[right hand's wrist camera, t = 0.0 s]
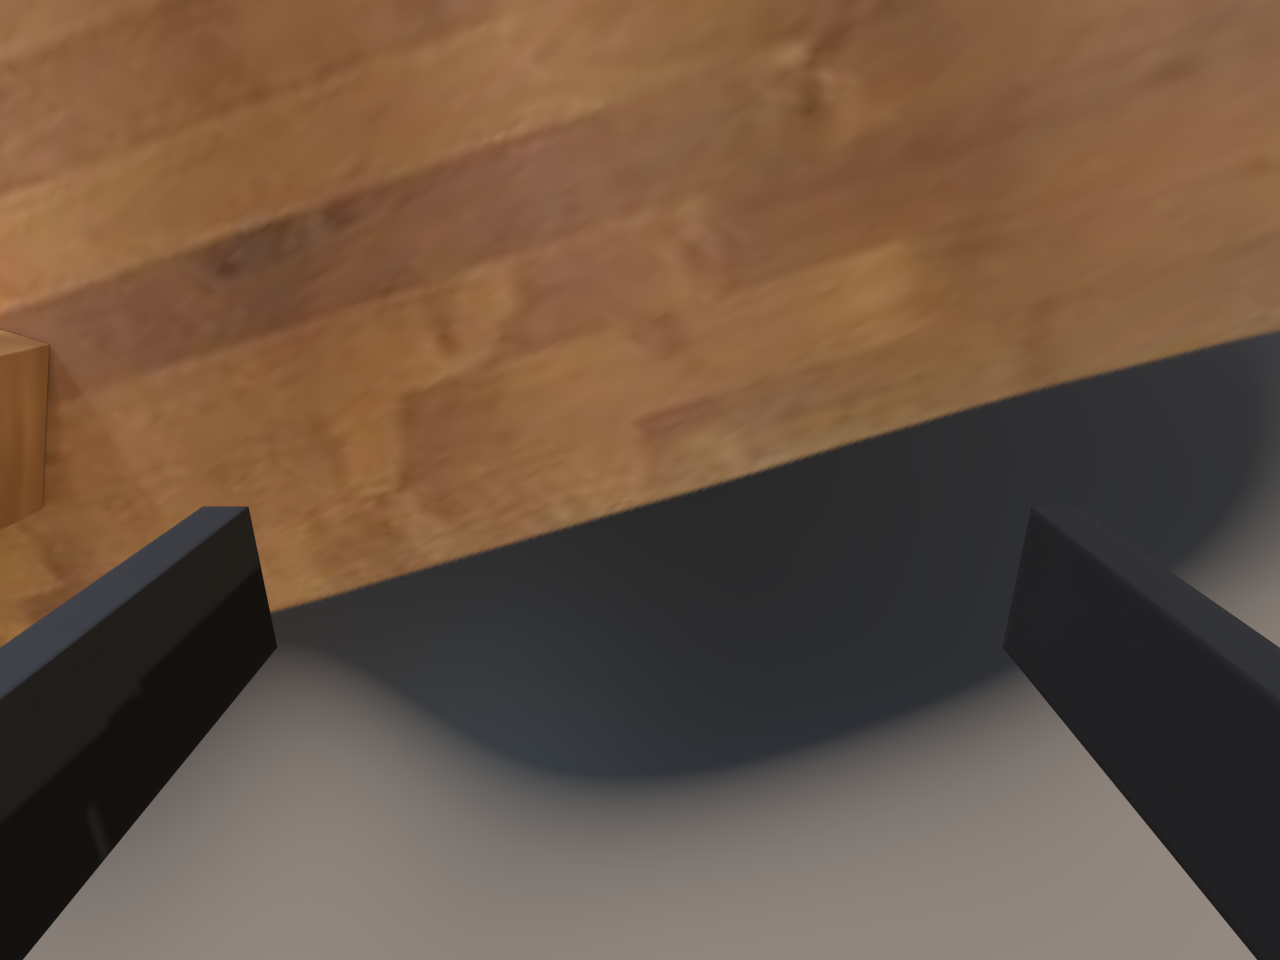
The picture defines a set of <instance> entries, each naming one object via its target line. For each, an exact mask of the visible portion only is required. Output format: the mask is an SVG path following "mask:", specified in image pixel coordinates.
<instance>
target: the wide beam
mask: <svg viewBox="0 0 1280 960" xmlns="http://www.w3.org/2000/svg"><path fill="white" fill-rule="evenodd" d="M48 363H49V344H47V343H44V342H40V341H37V340H34V339H30V338H27V337H23V336H20V335H17V334H13V333H10V332H7V331H3V330H0V530H1V529H3V528H5V527H7V526H9V525H11V524H13V523H15V522H17V521H18V520H20V519H22V518H24V517H26V516H28V515H30V514H32V513H34V512H36V511H38V510H40V509H42V508H43V489H44V464H45V439H46V413H47V388H48Z"/></svg>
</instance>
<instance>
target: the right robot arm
mask: <svg viewBox="0 0 1280 960" xmlns="http://www.w3.org/2000/svg"><path fill="white" fill-rule="evenodd" d="M276 648H277V644H276V639H275V634H274V629H273V624H272V619H271V614H270V610H269V605H268V600H267V595H266V590H265V585H264V580H263V575H262V571H261V566H260V561H259V556H258V551H257V546H256V541H255V536H254V532H253V527H252V522H251V517H250V512H249V507H201V508H200V509H199V510H197V511H196V512H194V513H193V514H191V515H190V516H189V517H187V518H186V519H184V520H183V521H181V522H180V523H179V524H177V525H176V526H174V527H173V528H171V529H170V530H169V531H167V532H166V533H164V534H163V535H161V536H160V537H158V538H157V539H156V540H154V541H153V542H151V543H150V544H148V545H147V546H146V547H144V548H143V549H141V550H140V551H138V552H137V553H136V554H134V555H133V556H131V557H130V558H128V559H127V560H125V561H124V562H123V563H121V564H120V565H118V566H117V567H115V568H114V569H113V570H111V571H110V572H108V573H107V574H105V575H104V576H103V577H101V578H100V579H98V580H97V581H95V582H94V583H93V584H91V585H90V586H88V587H87V588H85V589H84V590H82V591H81V592H80V593H78V594H77V595H75V596H74V597H72V598H71V599H70V600H68V601H67V602H65V603H64V604H62V605H61V606H60V607H58V608H57V609H55V610H54V611H52V612H51V613H50V614H48V615H47V616H45V617H44V618H42V619H41V620H39V621H38V622H37V623H35V624H34V625H32V626H31V627H29V628H28V629H27V630H25V631H24V632H22V633H21V634H19V635H18V636H17V637H15V638H14V639H12V640H11V641H9V642H8V643H6V644H5V645H4V646H2V647H1V648H0V960H23V959H24V958H25V956H26V955H27V954H28V953H29V951H30V950H31V949H32V948H33V947H34V945H35V944H36V943H37V942H38V940H39V939H40V938H41V937H42V935H43V934H44V933H45V932H46V931H47V929H48V928H49V927H50V926H51V924H52V923H53V922H54V921H55V920H56V918H57V917H58V916H59V915H60V913H61V912H62V911H63V910H64V908H65V907H66V906H67V905H68V904H69V902H70V901H71V900H72V899H73V897H74V896H75V895H76V894H77V892H78V891H79V890H80V889H81V888H82V886H83V885H84V884H85V883H86V881H87V880H88V879H89V878H90V876H91V875H92V874H93V873H94V872H95V870H96V869H97V868H98V867H99V865H100V864H101V863H102V862H103V861H104V859H105V858H106V857H107V856H108V854H109V853H110V852H111V851H112V849H113V848H114V847H115V846H116V845H117V843H118V842H119V841H120V840H121V838H122V837H123V836H124V835H125V834H126V832H127V831H128V830H129V829H130V827H131V826H132V825H133V824H134V822H135V821H136V820H137V819H138V818H139V816H140V815H141V814H142V813H143V811H144V810H145V809H146V808H147V807H148V805H149V804H150V803H151V802H152V800H153V799H154V798H155V797H156V795H157V794H158V793H159V792H160V790H161V789H162V788H163V787H164V786H165V784H166V783H167V782H168V781H169V779H170V778H171V777H172V776H173V774H174V773H175V772H176V771H177V770H178V768H179V767H180V766H181V765H182V763H183V762H184V761H185V760H186V759H187V757H188V756H189V755H190V754H191V752H192V751H193V750H194V749H195V748H196V746H197V745H198V744H199V743H200V741H201V740H202V739H203V738H204V737H205V735H206V734H207V733H208V732H209V730H210V729H211V728H212V727H213V725H214V724H215V723H216V722H217V721H218V719H219V718H220V717H221V716H222V714H223V713H224V712H225V711H226V710H227V708H228V707H229V706H230V705H231V703H232V702H233V701H234V700H235V698H236V697H237V696H238V695H239V693H240V692H241V691H242V690H243V689H244V687H245V686H246V685H247V684H248V682H249V681H250V680H251V679H252V678H253V676H254V675H255V674H256V673H257V671H258V670H259V669H260V668H261V667H262V665H263V664H264V663H265V662H266V660H267V659H268V658H269V657H270V655H271V654H272V653H273V652H274V650H275V649H276ZM1003 648H1004V649H1005V651H1006V652H1007V653H1008V654H1009V655H1010V657H1011V658H1012V659H1013V660H1014V662H1015V663H1016V664H1017V665H1018V667H1019V668H1020V669H1021V670H1022V671H1023V673H1024V674H1025V675H1026V676H1027V678H1028V679H1029V680H1030V681H1031V682H1032V684H1033V685H1034V686H1035V687H1036V689H1037V690H1038V691H1039V692H1040V693H1041V695H1042V696H1043V697H1044V698H1045V700H1046V701H1047V702H1048V703H1049V705H1050V706H1051V707H1052V708H1053V709H1054V711H1055V712H1056V713H1057V714H1058V716H1059V717H1060V718H1061V719H1062V721H1063V722H1064V723H1065V724H1066V725H1067V727H1068V728H1069V729H1070V730H1071V732H1072V733H1073V734H1074V735H1075V737H1076V738H1077V739H1078V740H1079V741H1080V743H1081V744H1082V745H1083V746H1084V747H1085V749H1086V750H1087V751H1088V752H1089V754H1090V755H1091V756H1092V757H1093V759H1094V760H1095V761H1096V762H1097V764H1098V765H1099V766H1100V767H1101V768H1102V770H1103V771H1104V772H1105V773H1106V775H1107V776H1108V777H1109V778H1110V780H1111V781H1112V782H1113V783H1114V784H1115V786H1116V787H1117V788H1118V789H1119V791H1120V792H1121V793H1122V794H1123V795H1124V797H1125V798H1126V799H1127V800H1128V802H1129V803H1130V804H1131V805H1132V806H1133V808H1134V809H1135V810H1136V811H1137V813H1138V814H1139V815H1140V816H1141V818H1142V819H1143V820H1144V821H1145V822H1146V824H1147V825H1148V826H1149V827H1150V829H1151V830H1152V831H1153V832H1154V834H1155V835H1156V836H1157V837H1158V838H1159V840H1160V841H1161V842H1162V843H1163V845H1164V846H1165V847H1166V848H1167V849H1168V851H1169V852H1170V853H1171V854H1172V856H1173V857H1174V858H1175V859H1176V861H1177V862H1178V863H1179V864H1180V865H1181V867H1182V868H1183V869H1184V870H1185V872H1186V873H1187V874H1188V875H1189V877H1190V878H1191V879H1192V880H1193V881H1194V883H1195V884H1196V885H1197V886H1198V888H1199V889H1200V890H1201V891H1202V892H1203V894H1204V895H1205V896H1206V897H1207V899H1208V900H1209V901H1210V902H1211V904H1212V905H1213V906H1214V907H1215V908H1216V910H1217V911H1218V912H1219V913H1220V915H1221V916H1222V917H1223V918H1224V920H1225V921H1226V922H1227V923H1228V924H1229V926H1230V927H1231V928H1232V929H1233V931H1234V932H1235V933H1236V934H1237V935H1238V937H1239V938H1240V939H1241V940H1242V942H1243V943H1244V944H1245V945H1246V947H1247V948H1248V949H1249V950H1250V951H1251V953H1252V954H1253V955H1254V956H1255V958H1256V959H1257V960H1280V648H1279V647H1278V646H1276V645H1275V644H1274V643H1272V642H1271V641H1269V640H1268V639H1266V638H1265V637H1263V636H1262V635H1261V634H1259V633H1258V632H1256V631H1255V630H1253V629H1252V628H1251V627H1249V626H1248V625H1246V624H1245V623H1243V622H1242V621H1241V620H1239V619H1238V618H1236V617H1235V616H1233V615H1232V614H1230V613H1229V612H1228V611H1226V610H1225V609H1223V608H1222V607H1220V606H1219V605H1217V604H1216V603H1215V602H1213V601H1212V600H1210V599H1209V598H1208V597H1206V596H1205V595H1203V594H1202V593H1200V592H1199V591H1197V590H1196V589H1195V588H1193V587H1192V586H1190V585H1189V584H1187V583H1186V582H1185V581H1183V580H1182V579H1180V578H1179V577H1177V576H1176V575H1175V574H1173V573H1172V572H1170V571H1169V570H1167V569H1166V568H1165V567H1163V566H1162V565H1160V564H1159V563H1157V562H1156V561H1154V560H1153V559H1152V558H1150V557H1149V556H1147V555H1146V554H1144V553H1143V552H1141V551H1140V550H1139V549H1137V548H1136V547H1134V546H1133V545H1132V544H1130V543H1129V542H1127V541H1126V540H1124V539H1123V538H1121V537H1120V536H1119V535H1117V534H1116V533H1114V532H1113V531H1111V530H1110V529H1109V528H1107V527H1106V526H1104V525H1103V524H1101V523H1100V522H1099V521H1097V520H1096V519H1094V518H1093V517H1091V516H1090V515H1089V514H1087V513H1086V512H1084V511H1083V510H1081V509H1080V508H1079V507H1031V512H1030V517H1029V522H1028V527H1027V532H1026V536H1025V541H1024V546H1023V551H1022V556H1021V561H1020V566H1019V571H1018V575H1017V581H1016V585H1015V590H1014V595H1013V600H1012V605H1011V610H1010V615H1009V619H1008V624H1007V629H1006V634H1005V639H1004V644H1003Z"/></svg>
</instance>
